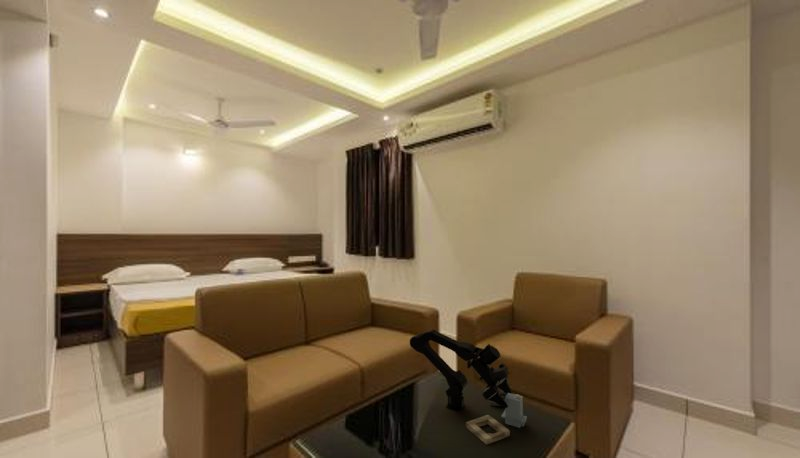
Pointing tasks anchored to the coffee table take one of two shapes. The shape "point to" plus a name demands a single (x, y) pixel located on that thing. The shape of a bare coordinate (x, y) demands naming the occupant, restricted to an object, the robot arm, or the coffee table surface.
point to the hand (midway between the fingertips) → (510, 402)
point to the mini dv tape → (496, 403)
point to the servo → (514, 410)
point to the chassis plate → (485, 437)
